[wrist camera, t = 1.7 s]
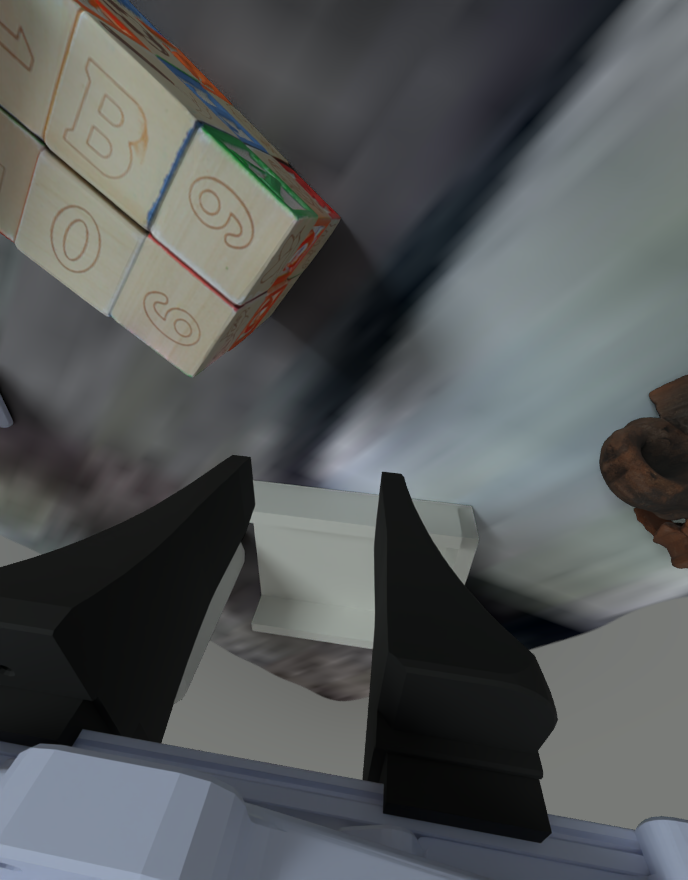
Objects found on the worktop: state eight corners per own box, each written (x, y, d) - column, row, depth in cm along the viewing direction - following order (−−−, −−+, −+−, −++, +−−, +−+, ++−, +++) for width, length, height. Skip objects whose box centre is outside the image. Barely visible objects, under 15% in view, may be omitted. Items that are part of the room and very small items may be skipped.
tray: (263, 598, 33) (252, 630, 31) (251, 480, 26) (235, 509, 24) (437, 623, 32) (440, 659, 29) (471, 506, 25) (479, 539, 22)
